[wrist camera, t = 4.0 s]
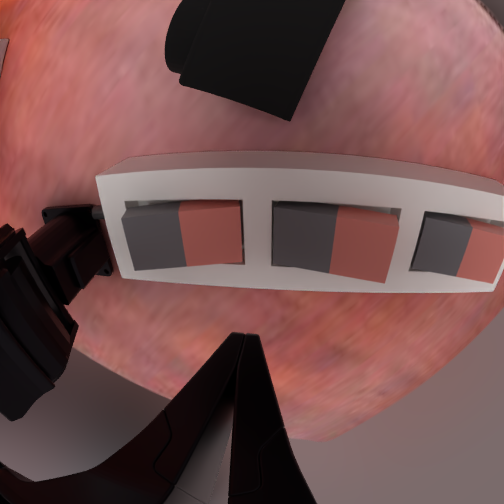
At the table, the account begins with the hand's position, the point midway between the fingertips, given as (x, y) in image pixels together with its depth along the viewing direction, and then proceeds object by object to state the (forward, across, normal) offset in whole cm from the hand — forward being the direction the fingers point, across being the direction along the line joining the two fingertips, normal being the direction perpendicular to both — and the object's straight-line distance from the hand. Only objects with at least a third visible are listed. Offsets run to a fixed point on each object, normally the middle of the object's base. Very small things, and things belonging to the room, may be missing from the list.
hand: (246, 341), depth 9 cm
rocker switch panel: (+11, -2, 0) cm, 11 cm away
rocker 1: (+7, +4, 0) cm, 8 cm away
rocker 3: (+8, -12, 0) cm, 14 cm away
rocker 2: (+7, -4, 0) cm, 8 cm away
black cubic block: (+11, 0, -12) cm, 16 cm away
